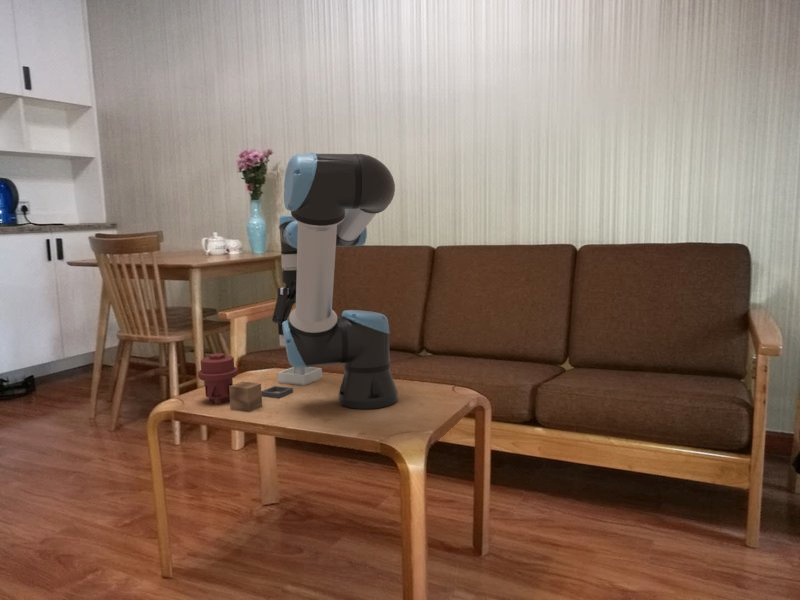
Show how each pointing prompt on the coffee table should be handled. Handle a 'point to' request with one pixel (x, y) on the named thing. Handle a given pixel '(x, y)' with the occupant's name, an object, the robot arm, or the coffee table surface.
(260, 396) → the block
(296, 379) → the tray
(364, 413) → the coffee table surface
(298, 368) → the pin
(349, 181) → the robot arm
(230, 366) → the mechanical component
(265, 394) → the socket
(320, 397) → the coffee table surface
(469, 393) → the coffee table surface
